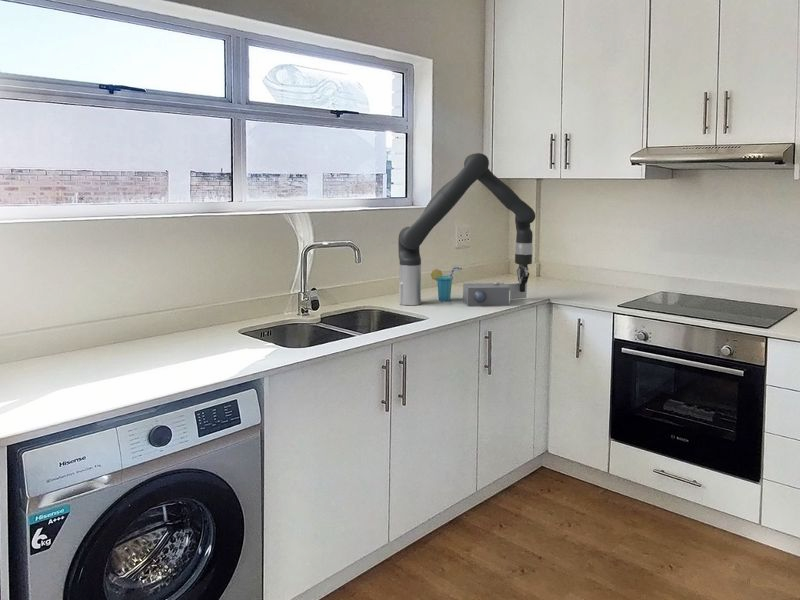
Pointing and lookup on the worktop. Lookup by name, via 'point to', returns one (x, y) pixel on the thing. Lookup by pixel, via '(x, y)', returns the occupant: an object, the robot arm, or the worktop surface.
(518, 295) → the side door
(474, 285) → the grey knobbed box
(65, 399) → the worktop surface
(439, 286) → the cup
